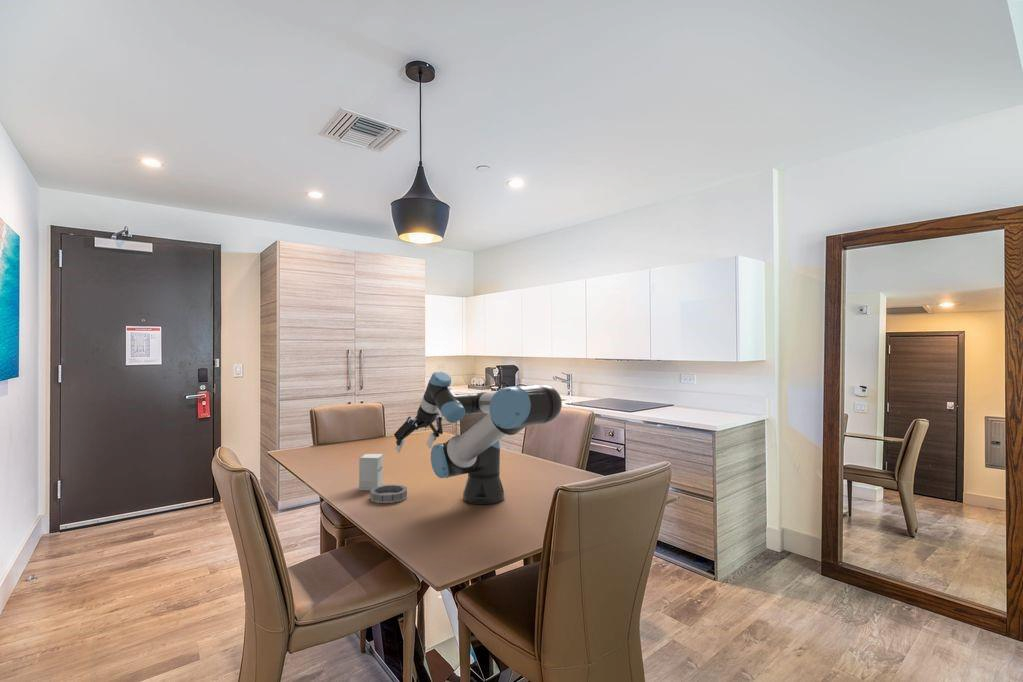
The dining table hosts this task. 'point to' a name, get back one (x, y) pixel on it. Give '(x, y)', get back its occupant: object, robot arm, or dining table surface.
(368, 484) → the supplement box
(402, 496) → the round holder
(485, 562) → the dining table surface
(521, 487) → the dining table surface
